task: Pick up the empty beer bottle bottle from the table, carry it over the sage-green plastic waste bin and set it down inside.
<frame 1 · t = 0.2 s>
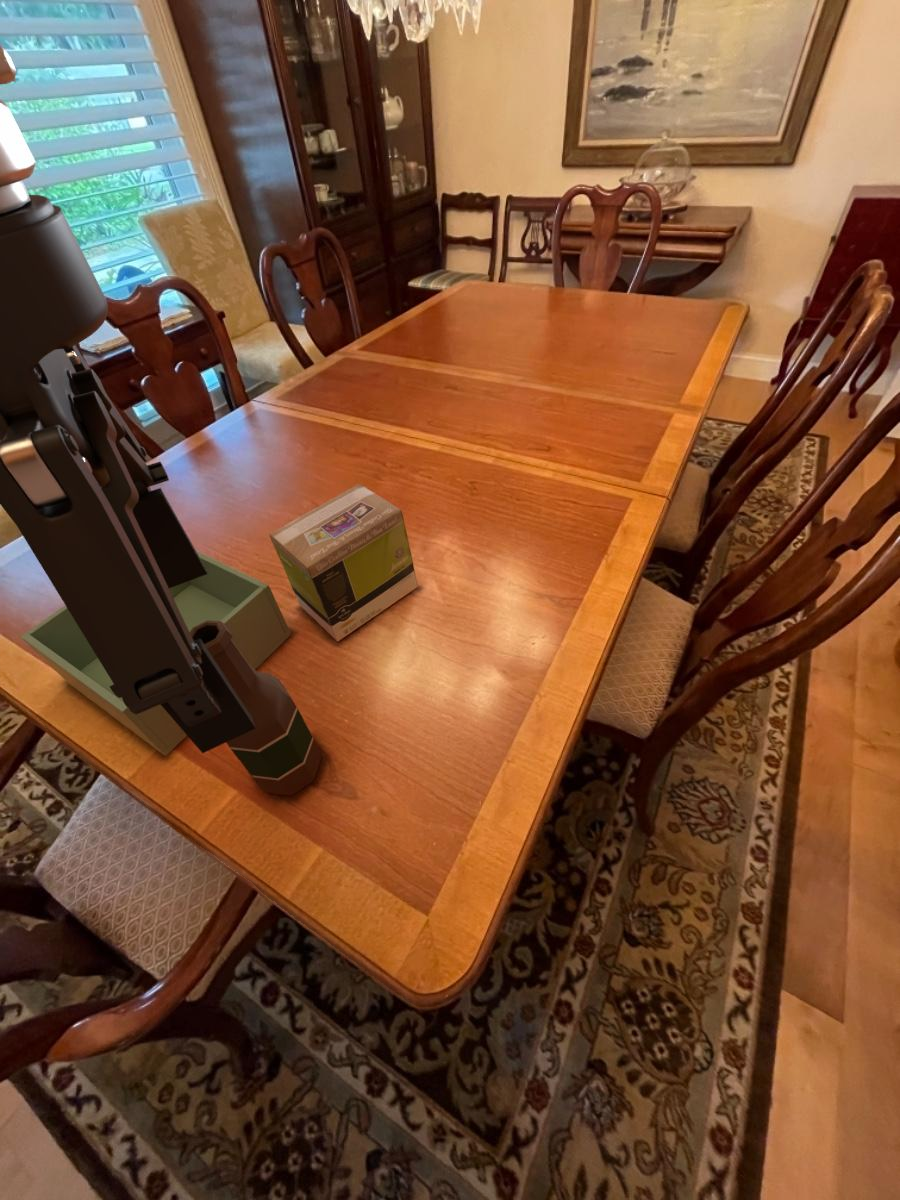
hand: (204, 646, 32), 33 cm above the table, tool pointing down, fingers open, 13 cm apart
beer bottle: (290, 767, 62), on the table
tea box: (359, 599, 80), on the table
waste bin: (182, 658, 74), on the table
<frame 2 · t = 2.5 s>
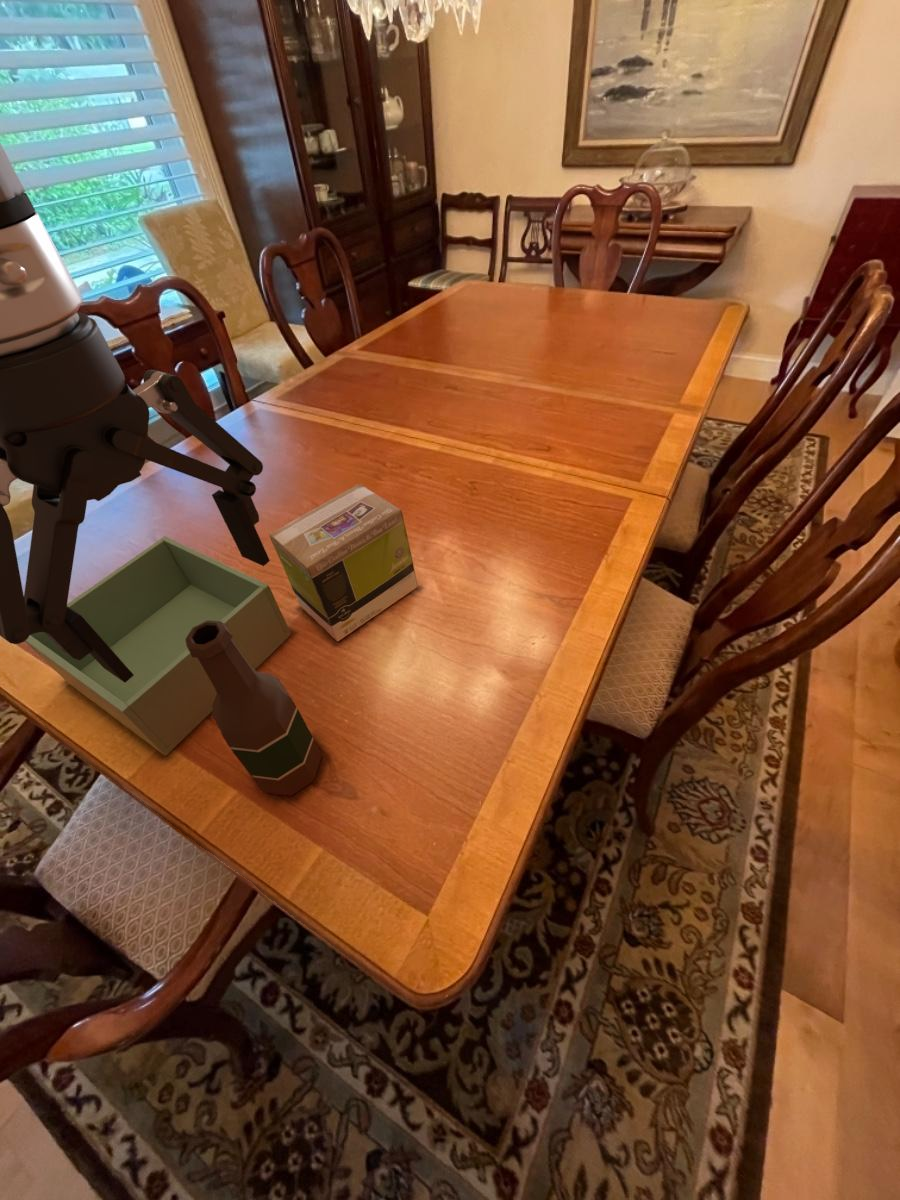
hand: (193, 610, 43), 27 cm above the table, tool pointing down, fingers open, 13 cm apart
nothing on the table moved.
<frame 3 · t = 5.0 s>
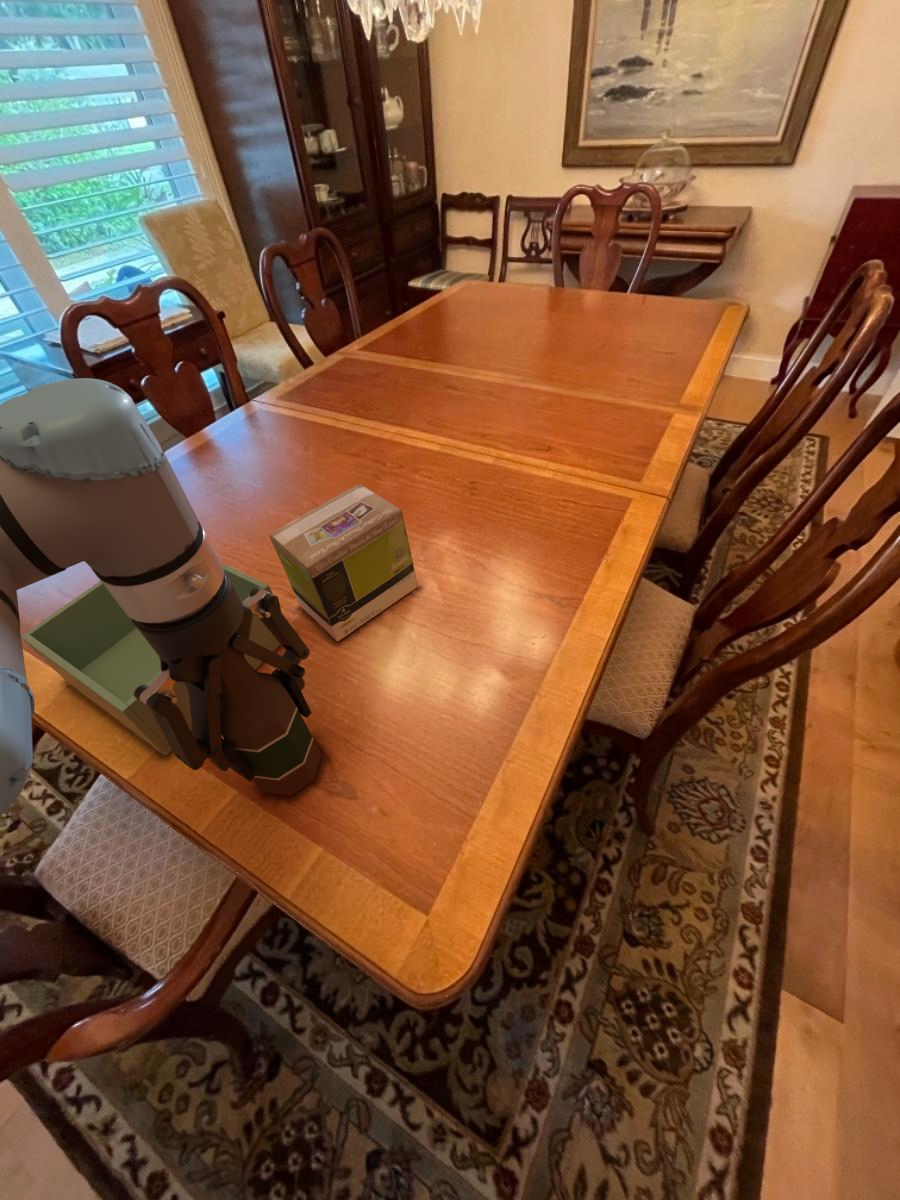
hand: (273, 739, 57), 6 cm above the table, tool pointing down, fingers closed on beer bottle, 8 cm apart
beer bottle: (290, 767, 62), on the table, touching gripper
everything else where it was.
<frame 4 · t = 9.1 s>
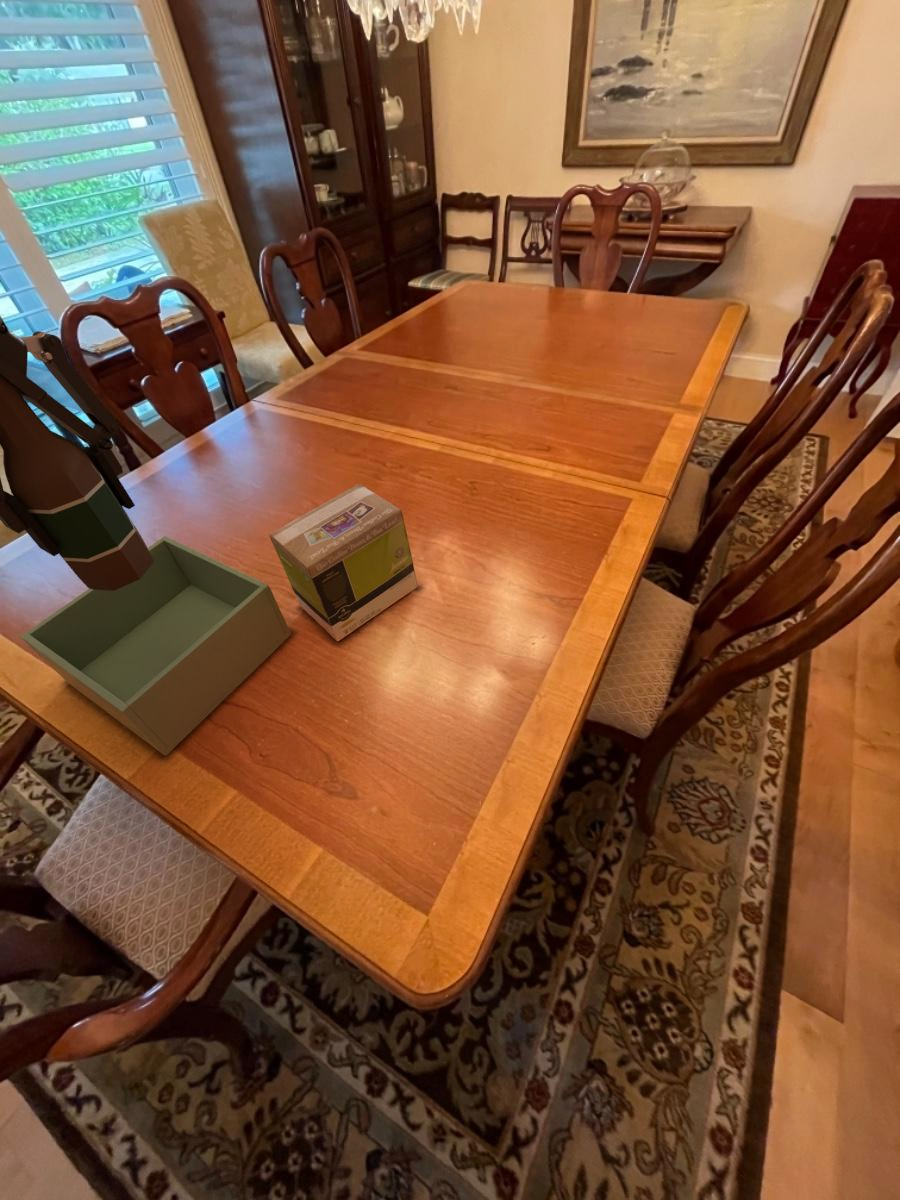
hand: (89, 525, 56), 24 cm above the table, tool pointing down, fingers closed on beer bottle, 8 cm apart
beer bottle: (121, 570, 60), point 18 cm above the table, touching gripper
everything else where it was.
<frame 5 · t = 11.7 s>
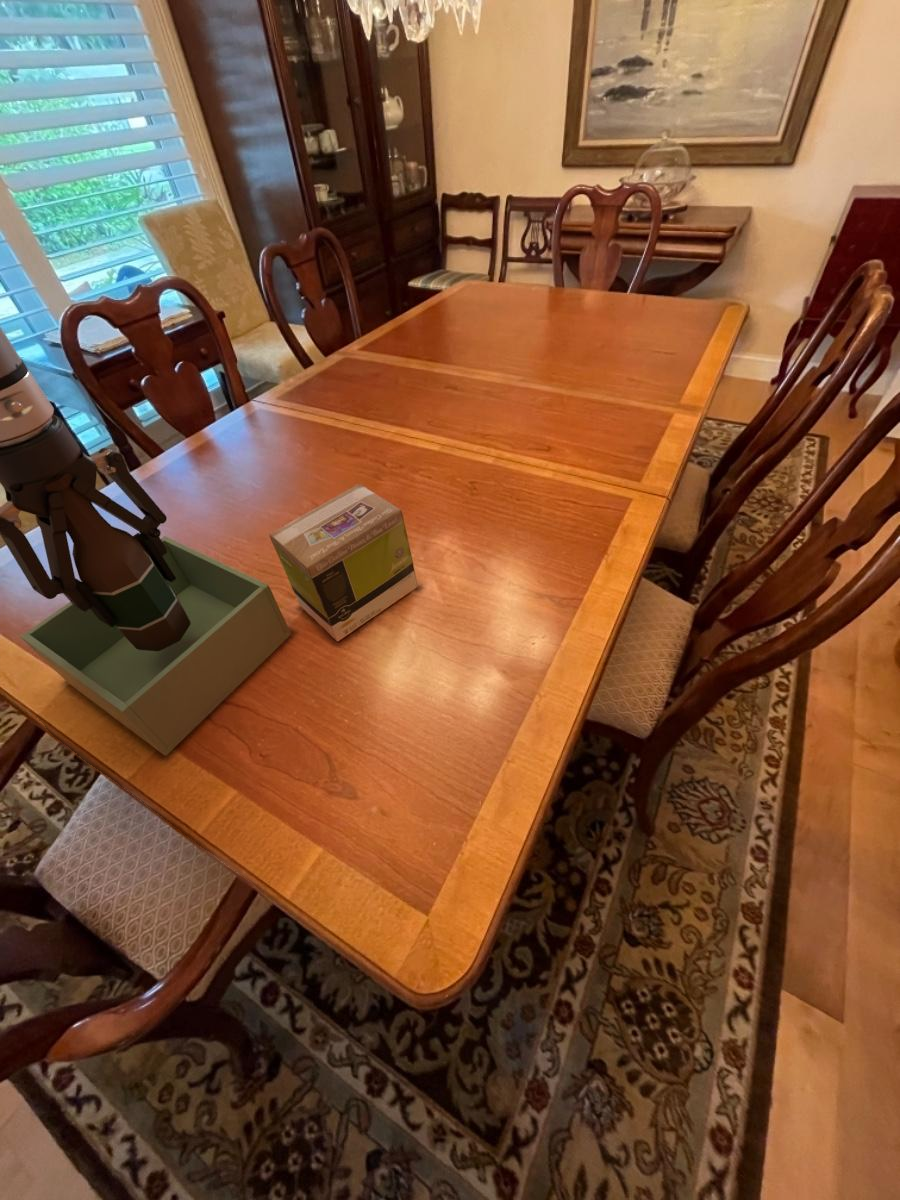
hand: (138, 598, 66), 12 cm above the table, tool pointing down, fingers closed on beer bottle, 8 cm apart
beer bottle: (163, 631, 70), point 6 cm above the table, touching gripper
everything else where it was.
when the fingers open (7 cm above the table, at t = 13.5 s): beer bottle stays where it is, resting on waste bin.
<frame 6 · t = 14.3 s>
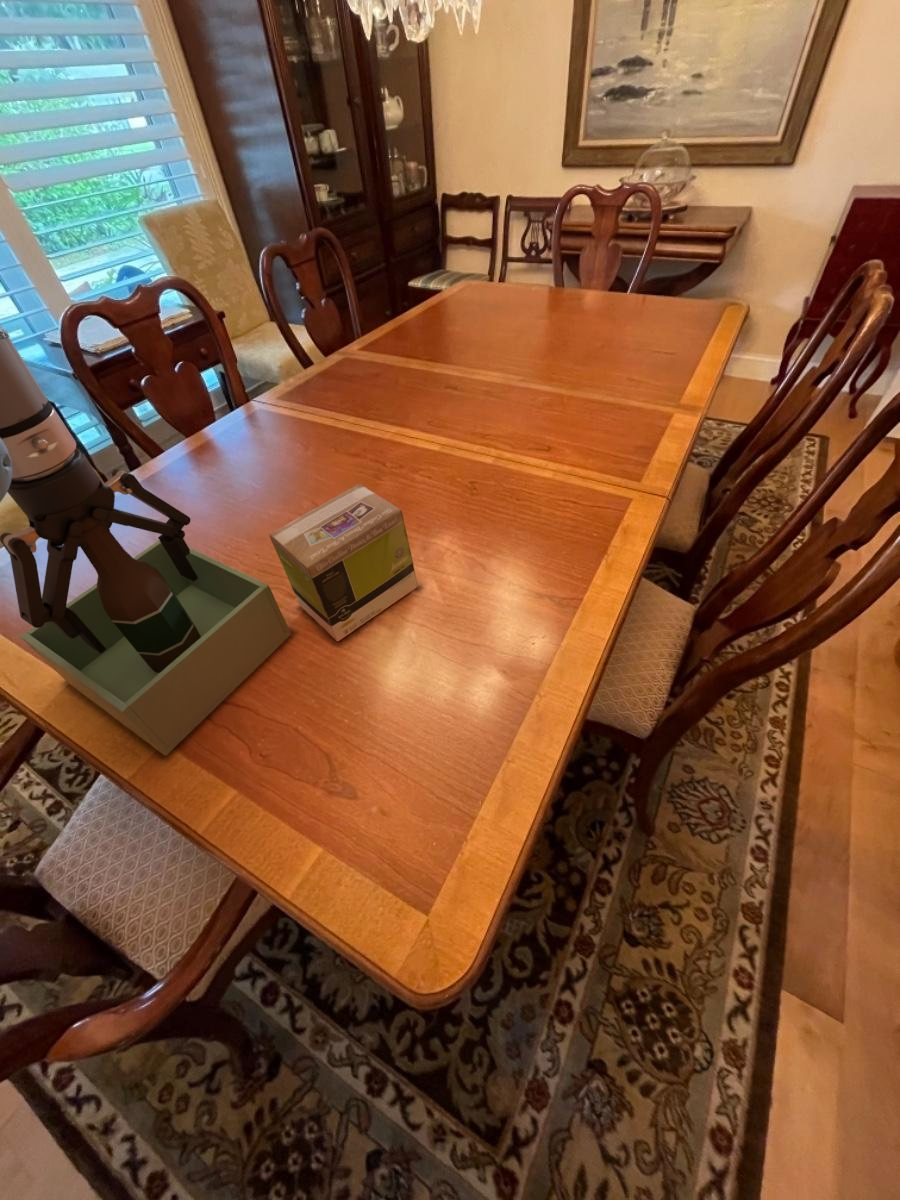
hand: (146, 610, 67), 10 cm above the table, tool pointing down, fingers open, 13 cm apart
beer bottle: (179, 654, 74), point 1 cm above the table, touching waste bin
everything else where it was.
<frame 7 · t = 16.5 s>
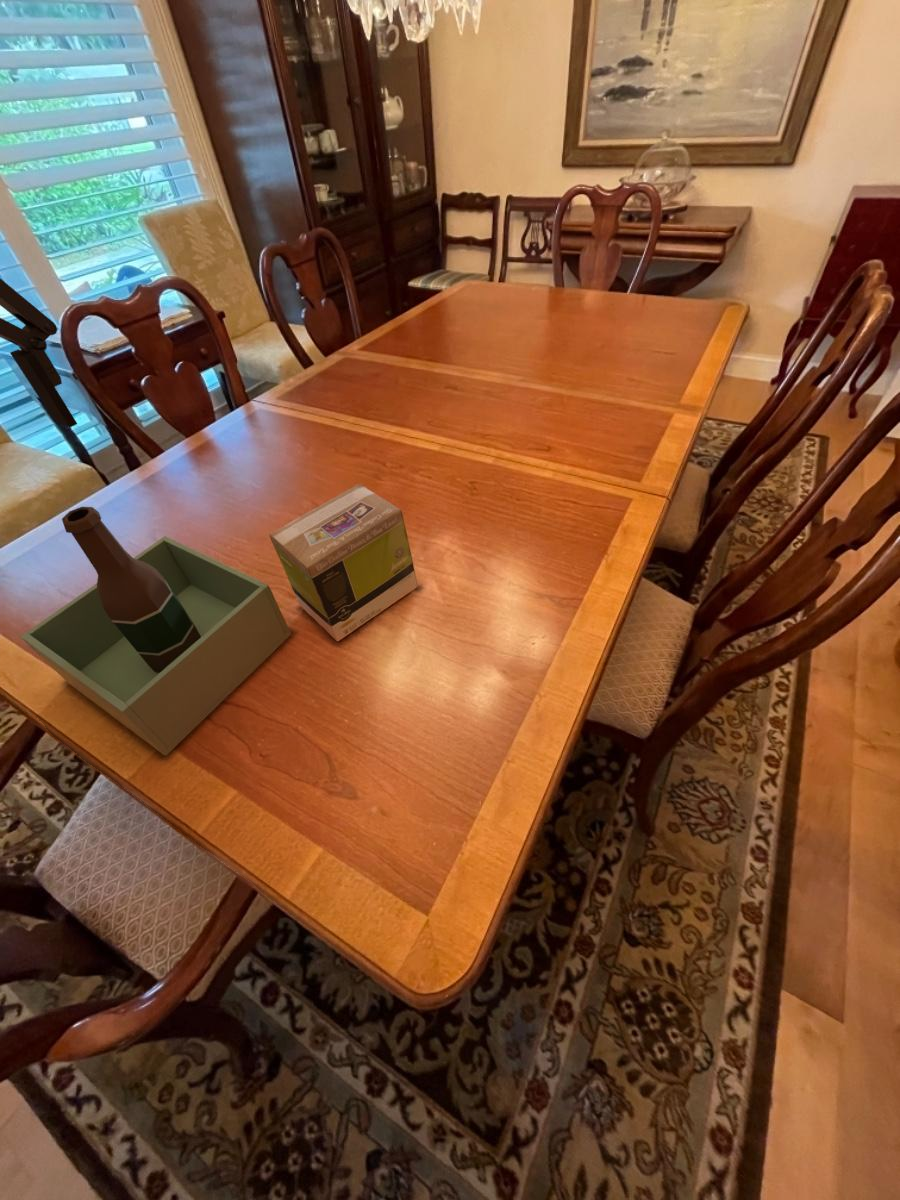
nothing on the table moved.
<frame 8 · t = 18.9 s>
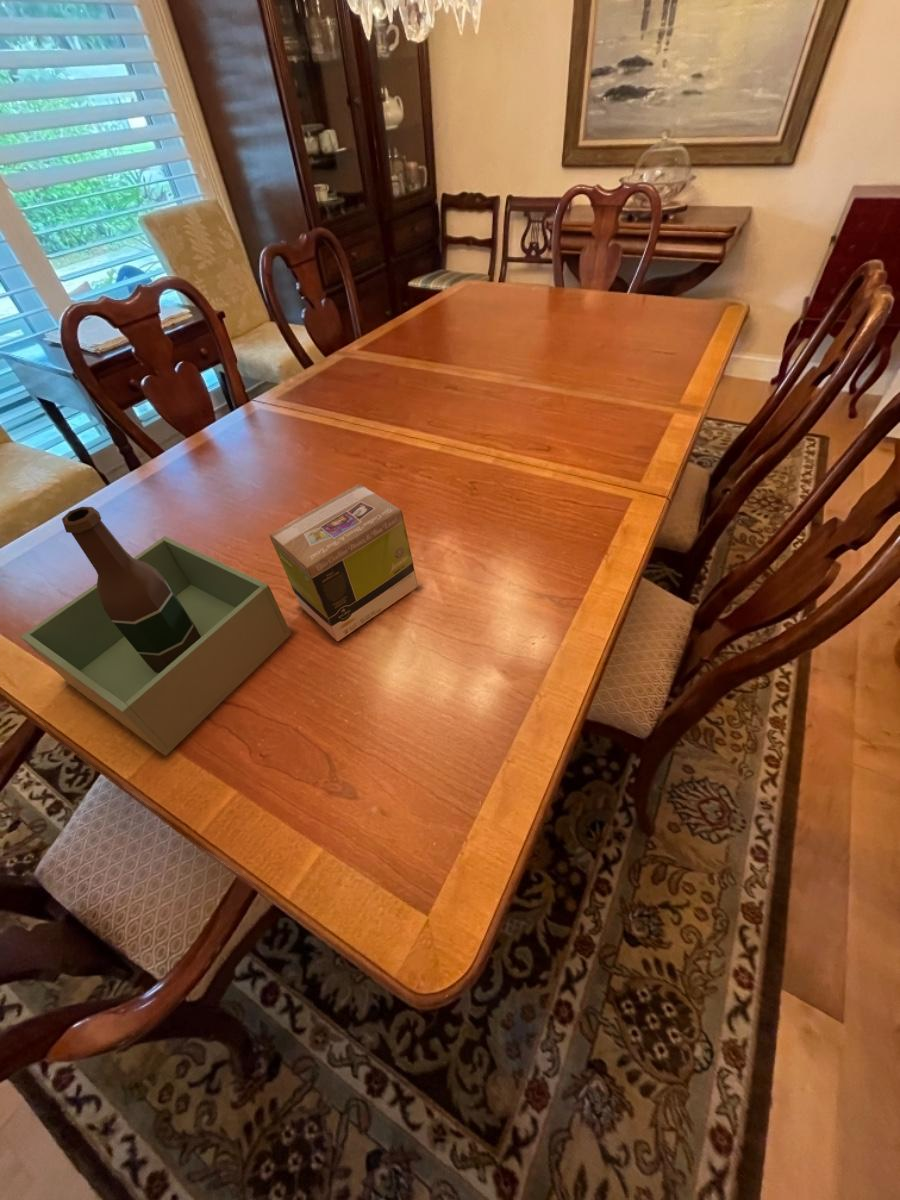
nothing on the table moved.
at the end: beer bottle inside the target area in the waste bin (0.0 cm from its centre), point 0.8 cm above the waste bin's base; the gripper is holding nothing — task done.
